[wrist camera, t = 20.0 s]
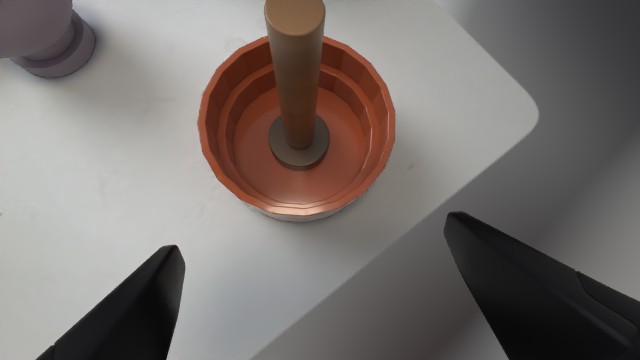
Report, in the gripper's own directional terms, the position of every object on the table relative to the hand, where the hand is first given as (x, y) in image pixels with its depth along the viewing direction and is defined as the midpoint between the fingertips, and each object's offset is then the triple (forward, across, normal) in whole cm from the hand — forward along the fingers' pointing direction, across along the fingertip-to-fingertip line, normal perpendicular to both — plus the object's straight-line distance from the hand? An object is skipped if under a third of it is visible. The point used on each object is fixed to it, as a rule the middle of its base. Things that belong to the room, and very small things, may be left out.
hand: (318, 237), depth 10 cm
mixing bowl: (+15, 0, +4) cm, 16 cm away
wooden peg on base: (+15, 0, +4) cm, 15 cm away
